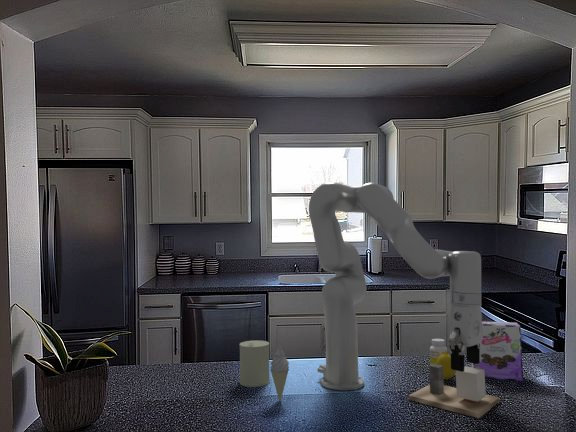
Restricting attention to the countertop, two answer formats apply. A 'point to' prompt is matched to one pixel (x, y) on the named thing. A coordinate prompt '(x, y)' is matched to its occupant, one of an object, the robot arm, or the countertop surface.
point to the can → (254, 363)
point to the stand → (450, 396)
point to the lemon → (446, 365)
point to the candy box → (501, 351)
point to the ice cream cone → (279, 371)
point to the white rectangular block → (471, 383)
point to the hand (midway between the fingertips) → (465, 366)
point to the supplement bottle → (437, 350)
